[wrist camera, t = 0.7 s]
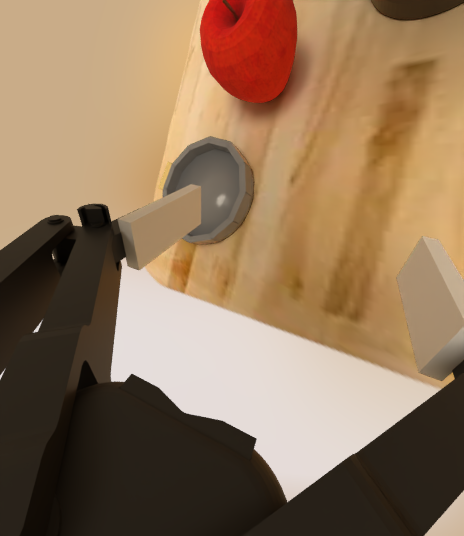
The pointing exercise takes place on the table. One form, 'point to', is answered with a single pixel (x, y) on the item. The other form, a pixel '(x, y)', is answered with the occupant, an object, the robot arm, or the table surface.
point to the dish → (213, 186)
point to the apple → (250, 46)
